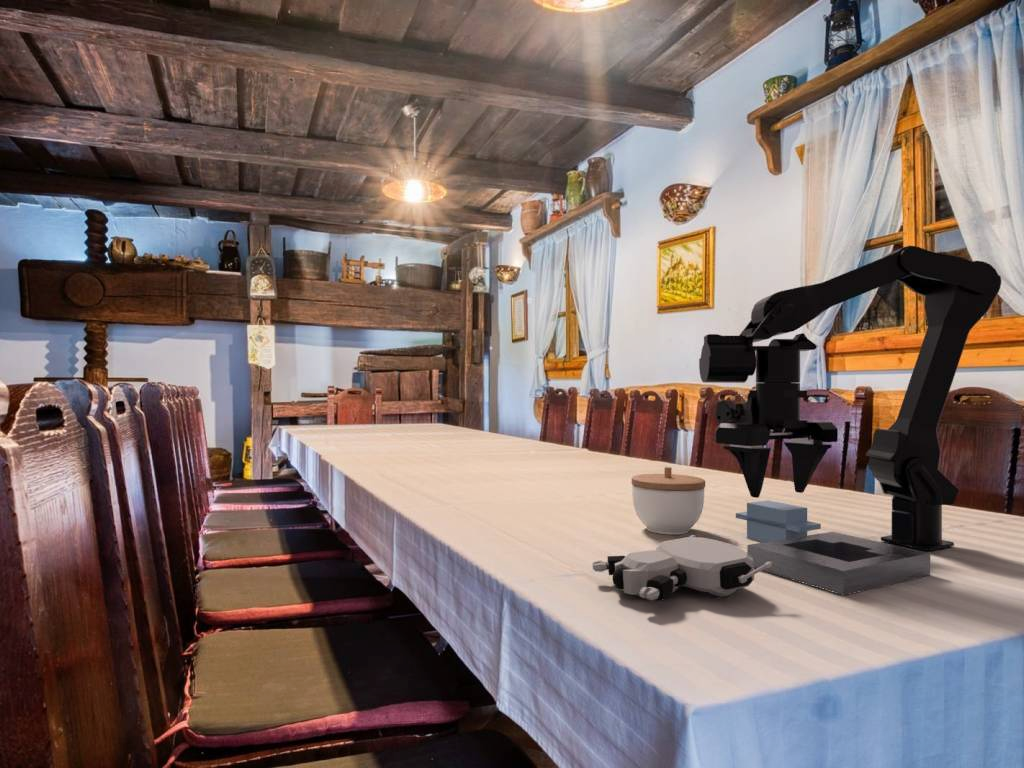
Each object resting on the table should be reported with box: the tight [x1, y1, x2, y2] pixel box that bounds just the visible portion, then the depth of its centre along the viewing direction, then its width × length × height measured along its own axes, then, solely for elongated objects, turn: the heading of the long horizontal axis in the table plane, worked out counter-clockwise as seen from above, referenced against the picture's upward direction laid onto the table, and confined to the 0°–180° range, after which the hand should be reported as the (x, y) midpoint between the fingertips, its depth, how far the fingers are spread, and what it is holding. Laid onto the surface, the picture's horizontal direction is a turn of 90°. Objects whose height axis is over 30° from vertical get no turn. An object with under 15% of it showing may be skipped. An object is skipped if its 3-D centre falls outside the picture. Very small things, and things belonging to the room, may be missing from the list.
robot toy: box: [592, 534, 772, 602], centre depth 64 cm, size 12×4×15 cm
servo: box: [735, 500, 822, 543], centre depth 87 cm, size 6×10×5 cm, turn 29°
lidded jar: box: [631, 466, 706, 536], centre depth 93 cm, size 11×11×9 cm
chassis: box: [746, 531, 931, 596], centre depth 72 cm, size 16×12×2 cm
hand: (777, 494), depth 86 cm, fingers open, 9 cm apart
